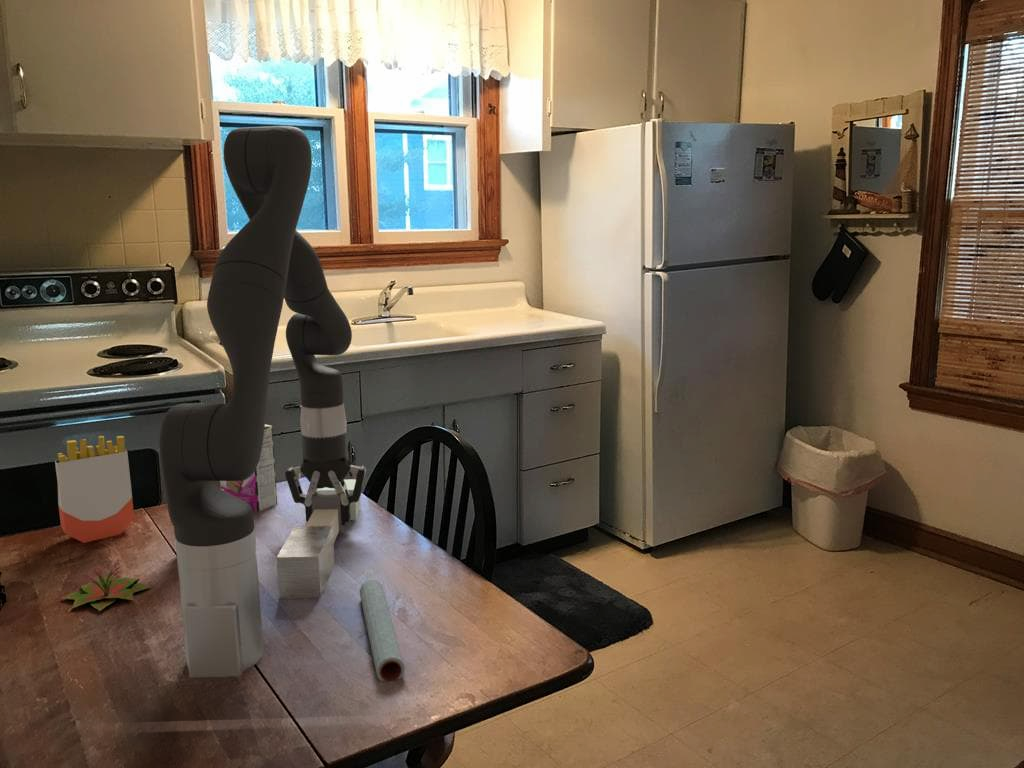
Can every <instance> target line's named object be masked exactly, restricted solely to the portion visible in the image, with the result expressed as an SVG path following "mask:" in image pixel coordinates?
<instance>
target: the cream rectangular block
mask: <svg viewBox="0 0 1024 768" xmlns="http://www.w3.org/2000/svg"><path fill="white" fill-rule="evenodd" d="M334 544H335V542H334V543H333V526H306V525H304V526H294V527H293V528H292V530H291V531H290V534H289V535H288V537H287V538H286V540H285V542H284V543H283V545H282V547H281V549H280V551H279V552H278V554H277V556H276V569H277V571H276V572H277V584H278V585H277V586H278V598H279V600H280V599H283V600H284V599H317V598H319V599H321V598H322V596H323V594H324V590H325V588H326V587H327V586H326V585H327V583H328V580H329V578H330V576H331V573H332V572H333V571H332V570H333V568H334V565H335V547H334Z"/></svg>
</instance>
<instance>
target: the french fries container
mask: <svg viewBox="0 0 1024 768" xmlns="http://www.w3.org/2000/svg"><path fill="white" fill-rule="evenodd" d="M115 440H116V445H114V444H113V440H106V447H105V436H104V435H99V436H98V445H96V446H95V447H96V452H95V447H94V446H93V445H87V439H84V438H83V439H82V438H81V439H80V441H79V442H80V445H79V447H77V445H78V444H77V441H76V440H75V439H73V440H72V439H71V440H66V449H67V450H66V452H67V456H66V455H65V454H63V453H62V452H59V453H57V457H58V462H57V461H56V460H54V464H55V473H56V480H57V481H56V482H57V500H58V501H57V504H58V512H59V513H58V514H59V520H60V522H59V523H60V527H61V529H62V530H63V532H64V534H66V535H67V536H69V537H71V538H73V539H75V540H77V541H79V542H81V543H83V544H85V543H88V542H93V541H98V540H100V539H101V540H102V539H106V538H109V537H114V536H115V537H116V536H120V535H122V534H123V533H124V531H125V530H126V529H127V528H128V527H129V526H130V525H131V524H132V523H133V521H134V520H135V514H134V512H135V511H134V504H133V503H134V501H133V494H132V493H133V492H132V482H131V475H130V463H129V456H128V450H127V449H126V447H125V436H123V435H118V436H116V439H115Z"/></svg>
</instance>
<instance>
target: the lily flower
mask: <svg viewBox="0 0 1024 768" xmlns="http://www.w3.org/2000/svg"><path fill="white" fill-rule="evenodd" d="M118 564H119V563H115V564H114V566H113V568H111V570H110V572H109V574H107V577H104V576H105V575H104V573H103V572H102V571H101V569H100V567H99V566H96V568H97V569H98V571H99V572H100V573H99V572H98V571H97V570H95V569H92V572H93V573H94V574H95V576H96V577H97V579H98V580H94V579H93V578H92V577H88V580H90V582H88V583H87V584H82V585H81V587H80V588H81V590H76V591H73V592H71V593H69V594H66V595H65V596H62V597H61V599H64V600H65V599H67V600H74V602H73V606H71V608H70V610H72V609H74V608H77V607H79V606H81V605H82V606H83V605H85V604H86V603H87V604H88V603H89V604H90V606H92V608H94V609H96V610H97V611H98V612H100V611H102V610H103V609H105V608H106V607H108V606H110V605H111V604H113V603H114V602H116V601H117V600H118V599H123V600H128V601H133V602H134V601H135V599H134V593H136V592H139V591H144V590H147V589H150V588H152V586H151V585H145V584H143V583H135V582H136V581H138V580H140V579H141V578H139V577H138V578H137V577H132V578H131V577H122V578H121V577H120V575H117V574H118V573H117V572H116V571H117V570H120V569H121V568H122V566H118V567H117V568H115V567H116V566H117V565H118ZM107 565H108V563H106V564H105V567H107ZM114 569H115V570H114ZM116 575H117V576H116ZM111 592H112V595H109V593H111ZM103 594H104V596H102V595H103ZM104 599H105V600H104Z"/></svg>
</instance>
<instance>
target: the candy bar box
mask: <svg viewBox="0 0 1024 768" xmlns="http://www.w3.org/2000/svg"><path fill="white" fill-rule="evenodd" d="M273 431H274V430H273V425H270V424H266V423H265V428H264V437H263V445H262V451H261V456H260V459H259V463H258V465H257V468H256V470H255V471H254V473H253V475H252V476H250V477H249V478H248V479H246V480H242V481H218V484H219V485H218V486H219V487H218V488H220V489H221V490H222V491H224V492H226V493H228V494H230V495H232V496H234V497H236V498H239V499H241V500H243V501H245V502H247V503H248V504H249V505H250V506H251V507H252V509H253V512H254V511H255V512H262V511H264V510H267V509H269V508H271V506H272V507H274V506H276V504H277V505H278V493H277V490H278V489H277V480H276V478H277V477H276V463H275V461H276V460H275V449H274V448H275V447H274V435H273Z"/></svg>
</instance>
